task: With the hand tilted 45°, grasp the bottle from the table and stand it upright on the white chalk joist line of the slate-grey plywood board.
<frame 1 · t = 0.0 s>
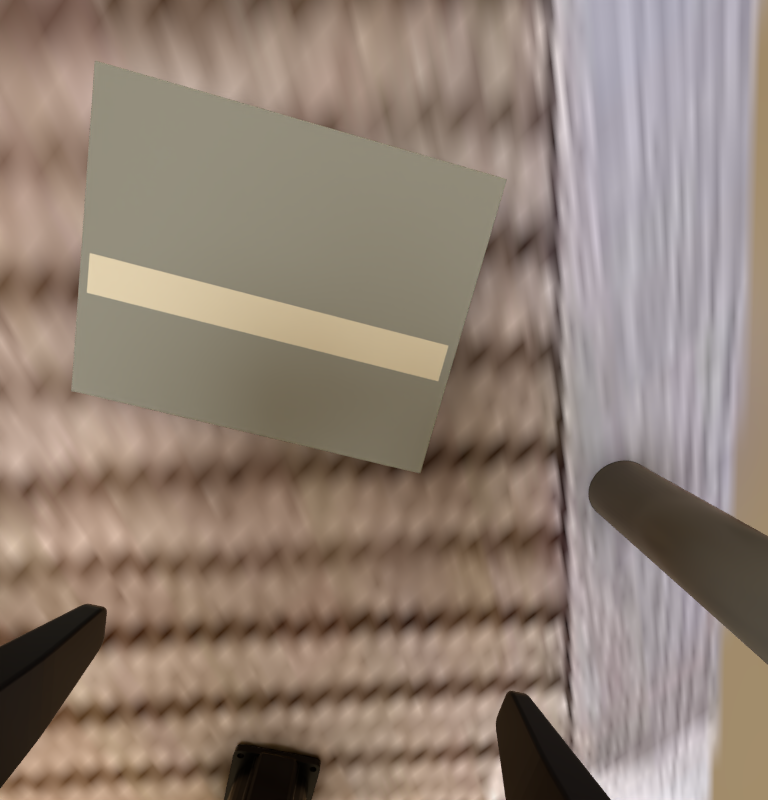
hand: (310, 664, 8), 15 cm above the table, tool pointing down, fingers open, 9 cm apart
bottle: (620, 490, 23), on the table
board: (284, 293, 20), on the table
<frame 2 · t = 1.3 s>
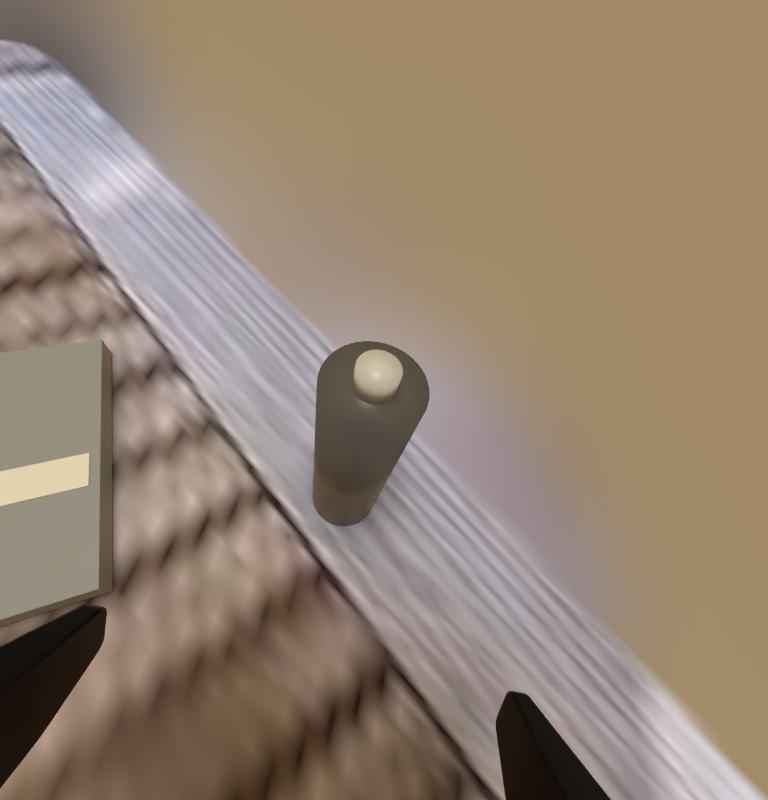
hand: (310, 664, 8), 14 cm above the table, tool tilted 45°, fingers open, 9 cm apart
bottle: (343, 494, 24), on the table
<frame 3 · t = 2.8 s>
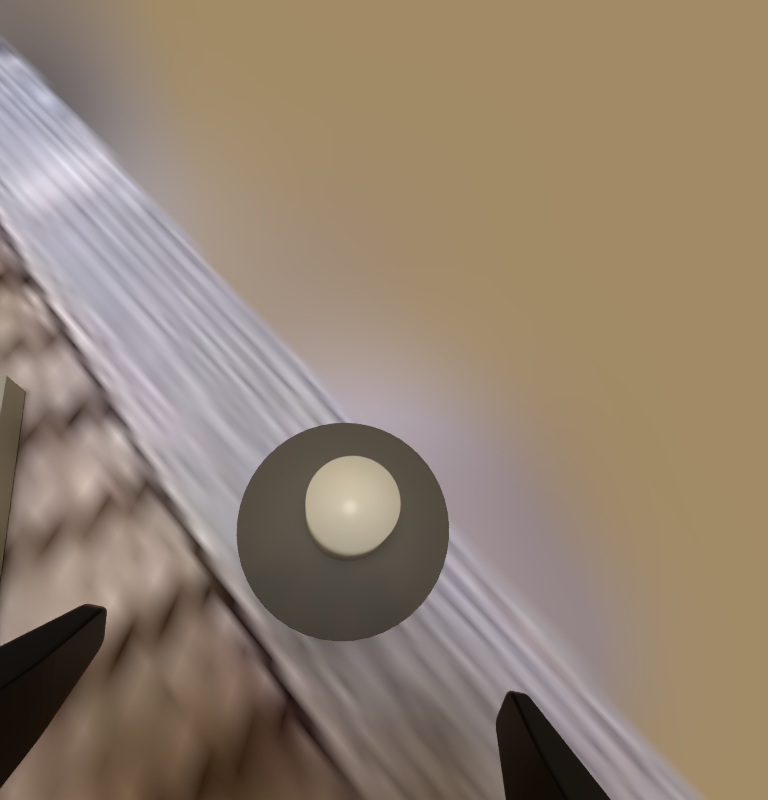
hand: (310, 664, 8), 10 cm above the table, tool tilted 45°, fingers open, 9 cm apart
bottle: (323, 583, 18), on the table
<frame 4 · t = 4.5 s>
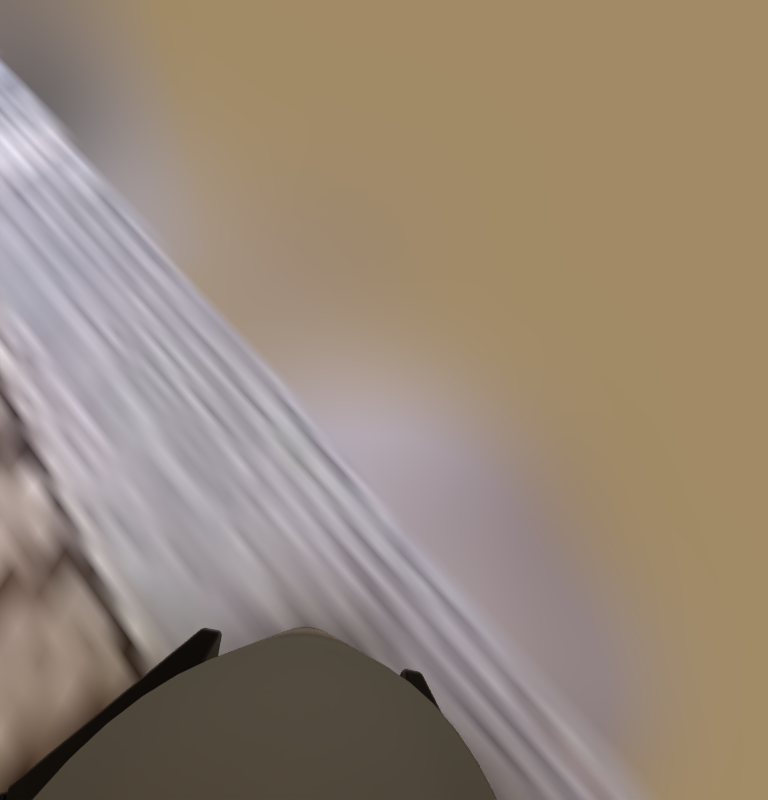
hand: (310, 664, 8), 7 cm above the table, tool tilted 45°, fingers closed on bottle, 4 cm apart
bottle: (298, 692, 13), on the table, touching gripper
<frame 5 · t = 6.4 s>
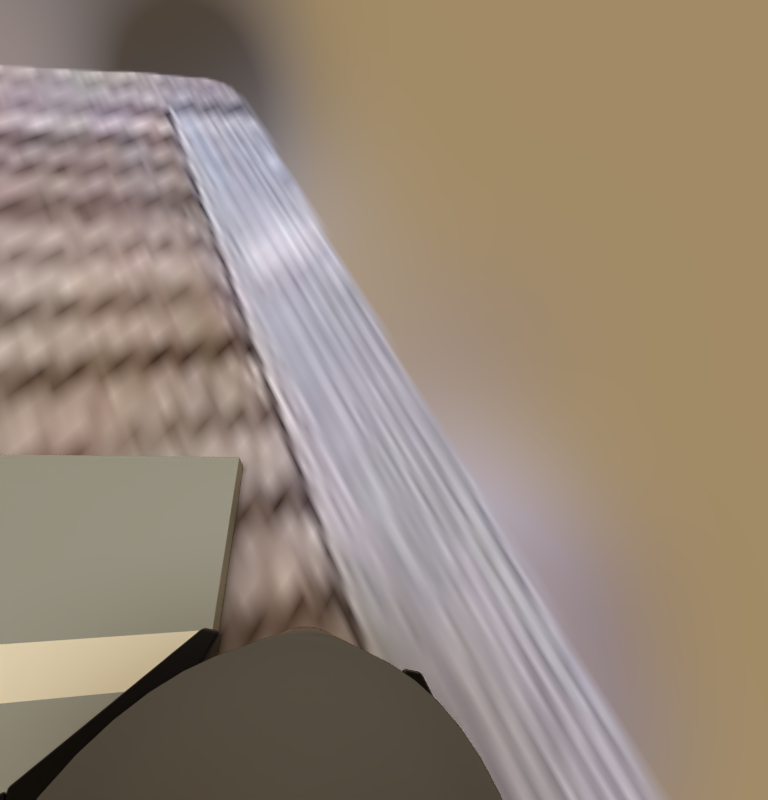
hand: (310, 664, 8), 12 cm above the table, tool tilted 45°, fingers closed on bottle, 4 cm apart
bottle: (299, 691, 13), point 5 cm above the table, touching gripper
when the fingers open (10 cm above the table, at t = 8.3 s): bottle drops 1 cm, resting on board.
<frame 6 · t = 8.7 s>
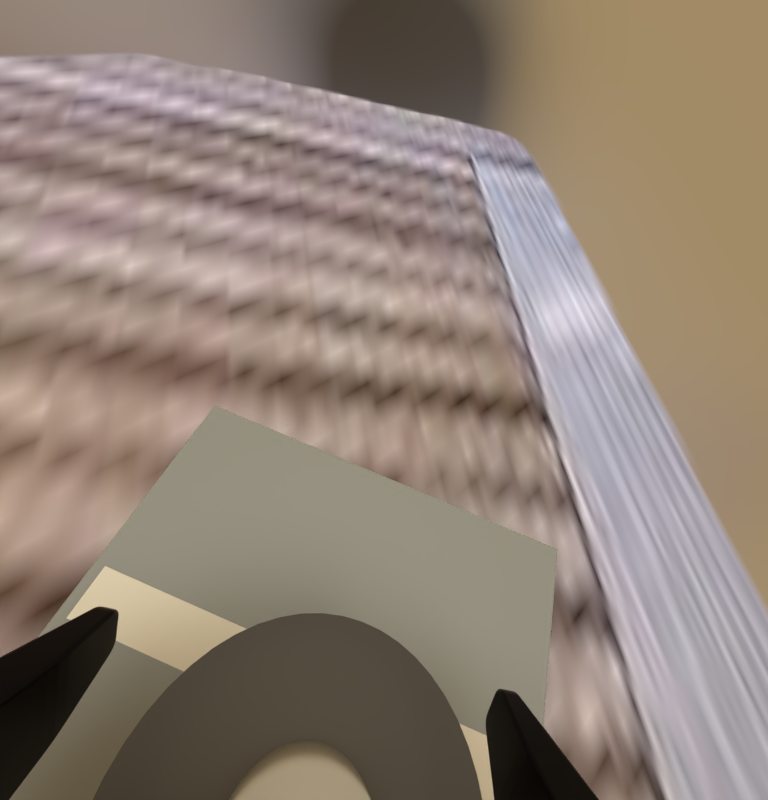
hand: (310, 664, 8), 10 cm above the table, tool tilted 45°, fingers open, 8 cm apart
bottle: (298, 687, 14), point 2 cm above the table, touching board
board: (316, 642, 16), on the table
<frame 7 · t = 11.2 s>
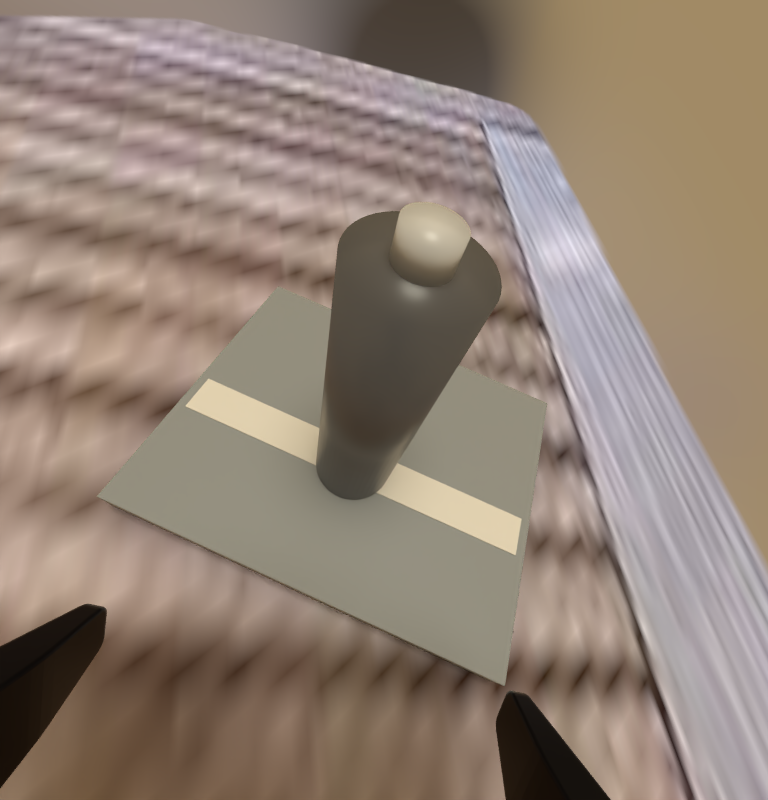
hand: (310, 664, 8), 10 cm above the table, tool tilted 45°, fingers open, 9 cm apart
bottle: (353, 462, 19), point 2 cm above the table, touching board
board: (362, 451, 22), on the table
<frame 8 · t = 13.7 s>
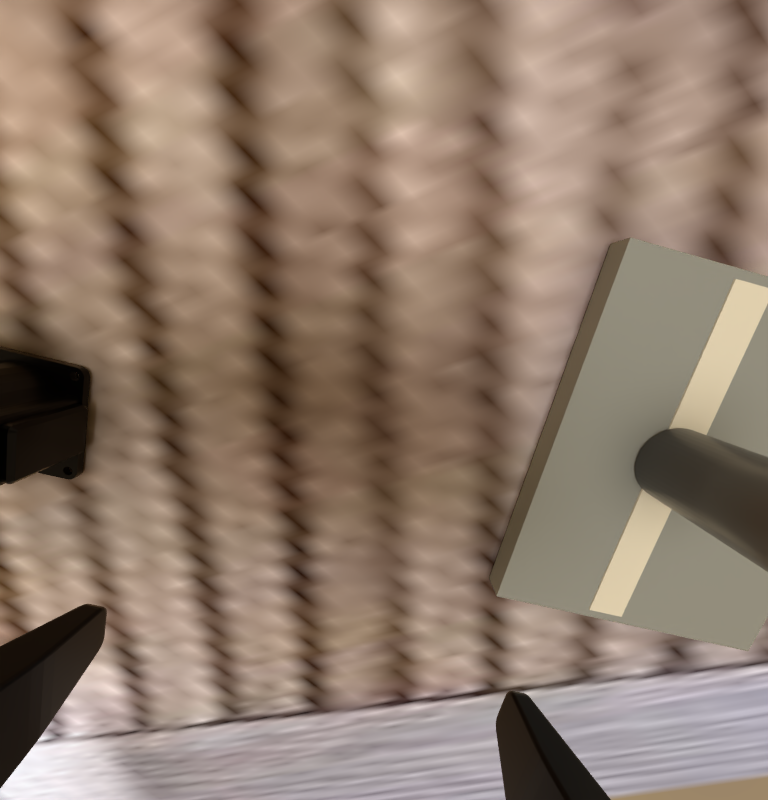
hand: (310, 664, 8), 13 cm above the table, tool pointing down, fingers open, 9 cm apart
bottle: (673, 464, 19), point 2 cm above the table, touching board
board: (674, 460, 21), on the table
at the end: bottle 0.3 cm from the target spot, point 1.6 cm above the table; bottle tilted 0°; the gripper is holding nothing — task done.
